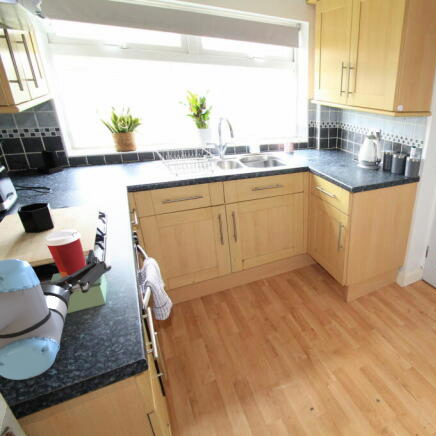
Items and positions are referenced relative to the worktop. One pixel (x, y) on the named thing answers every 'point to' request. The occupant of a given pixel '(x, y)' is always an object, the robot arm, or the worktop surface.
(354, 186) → the worktop surface
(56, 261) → the paper cup
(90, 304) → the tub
